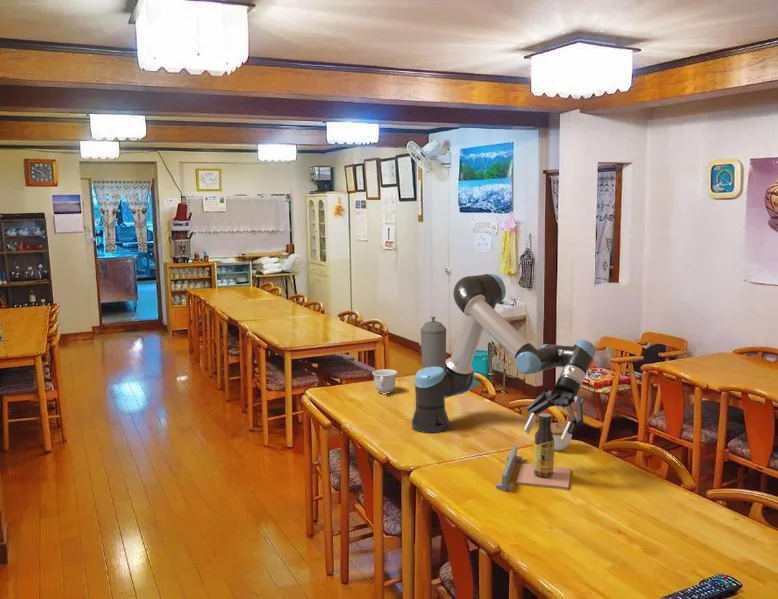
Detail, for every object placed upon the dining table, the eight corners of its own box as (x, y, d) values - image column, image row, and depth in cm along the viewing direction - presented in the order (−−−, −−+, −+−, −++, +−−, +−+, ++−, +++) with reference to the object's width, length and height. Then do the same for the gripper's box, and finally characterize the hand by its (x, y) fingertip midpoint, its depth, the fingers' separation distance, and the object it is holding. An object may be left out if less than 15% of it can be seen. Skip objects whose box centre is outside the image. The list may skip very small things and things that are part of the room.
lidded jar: (574, 445, 249) (574, 420, 247) (569, 455, 239) (569, 429, 238) (544, 441, 253) (545, 417, 252) (538, 451, 244) (538, 425, 242)
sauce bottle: (542, 479, 216) (542, 419, 214) (529, 473, 222) (529, 414, 219) (558, 475, 219) (558, 415, 217) (545, 469, 225) (545, 411, 222)
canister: (448, 384, 336) (447, 314, 331) (445, 391, 324) (445, 318, 319) (422, 383, 338) (421, 314, 334) (419, 390, 326) (418, 318, 321)
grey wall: (495, 490, 211) (495, 474, 211) (508, 457, 238) (508, 444, 237) (512, 491, 210) (512, 476, 209) (522, 459, 236) (522, 445, 235)
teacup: (369, 397, 316) (368, 376, 315) (375, 389, 331) (374, 368, 329) (394, 398, 314) (394, 377, 313) (399, 389, 329) (399, 369, 327)
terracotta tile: (516, 484, 215) (516, 481, 215) (522, 465, 230) (522, 463, 230) (568, 489, 210) (568, 487, 210) (570, 470, 226) (571, 468, 225)
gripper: (533, 369, 234) (507, 422, 225) (600, 382, 216) (575, 439, 208) (541, 381, 238) (516, 433, 230) (608, 394, 221) (583, 451, 212)
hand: (544, 436), depth 219 cm, fingers open, 13 cm apart
